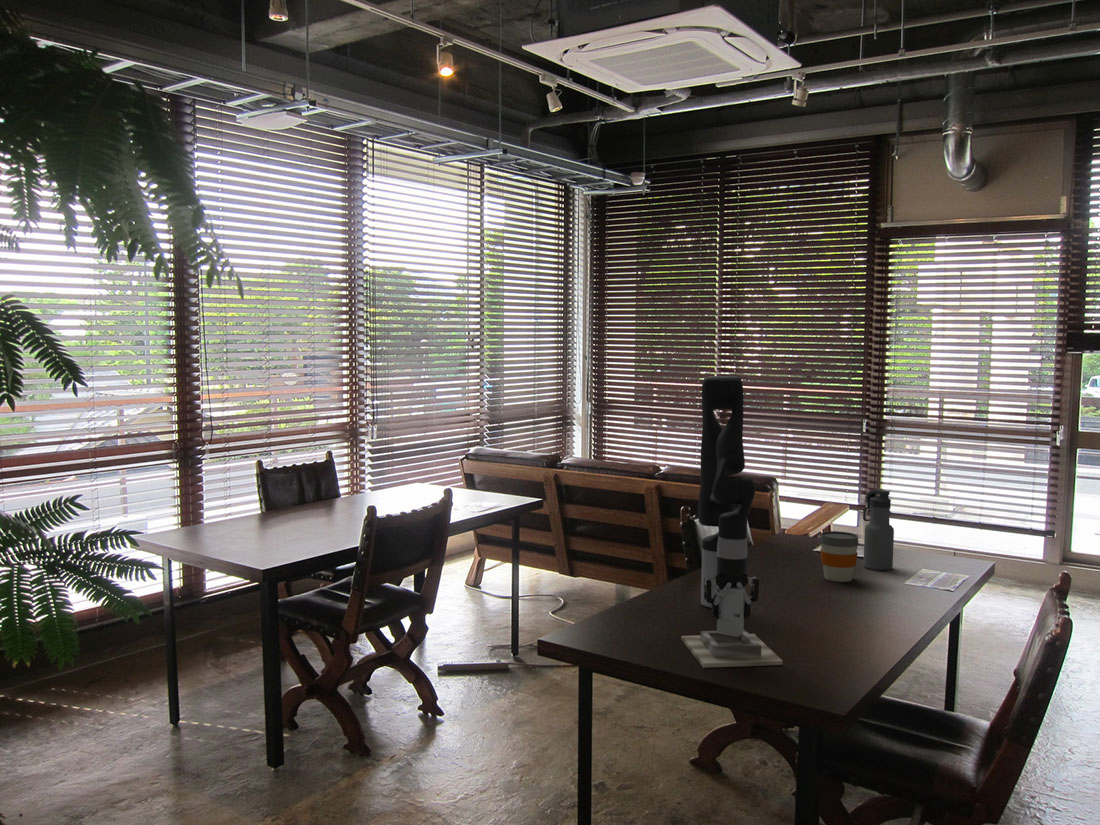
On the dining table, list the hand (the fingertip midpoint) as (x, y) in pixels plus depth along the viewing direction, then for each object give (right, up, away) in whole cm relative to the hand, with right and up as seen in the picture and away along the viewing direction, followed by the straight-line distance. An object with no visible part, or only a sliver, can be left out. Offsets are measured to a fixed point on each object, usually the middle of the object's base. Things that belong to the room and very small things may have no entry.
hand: (730, 617), depth 214 cm
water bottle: (+72, -4, +88) cm, 113 cm away
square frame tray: (0, -9, +1) cm, 9 cm away
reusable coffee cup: (+52, -4, +73) cm, 90 cm away
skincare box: (0, -4, 0) cm, 4 cm away
